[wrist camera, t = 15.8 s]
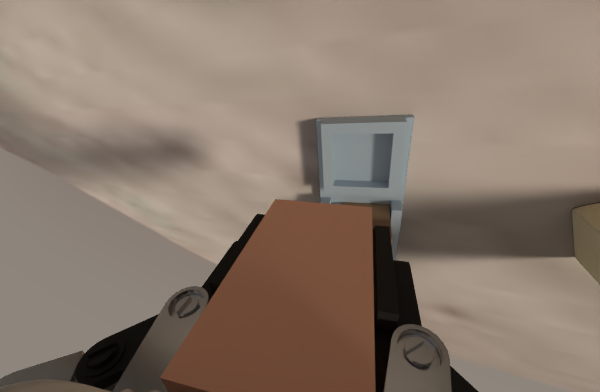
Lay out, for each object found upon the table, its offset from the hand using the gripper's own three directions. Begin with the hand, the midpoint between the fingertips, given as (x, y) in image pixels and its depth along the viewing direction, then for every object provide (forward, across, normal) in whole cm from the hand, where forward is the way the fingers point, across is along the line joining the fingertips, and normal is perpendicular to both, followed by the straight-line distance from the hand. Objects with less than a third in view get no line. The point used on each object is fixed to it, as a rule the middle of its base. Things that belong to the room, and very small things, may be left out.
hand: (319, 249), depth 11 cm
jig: (+18, -2, +9) cm, 20 cm away
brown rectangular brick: (+1, 0, 0) cm, 1 cm away
